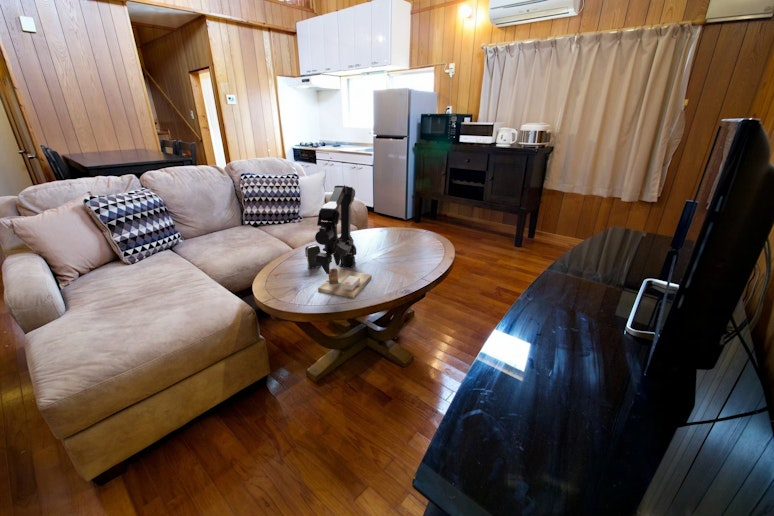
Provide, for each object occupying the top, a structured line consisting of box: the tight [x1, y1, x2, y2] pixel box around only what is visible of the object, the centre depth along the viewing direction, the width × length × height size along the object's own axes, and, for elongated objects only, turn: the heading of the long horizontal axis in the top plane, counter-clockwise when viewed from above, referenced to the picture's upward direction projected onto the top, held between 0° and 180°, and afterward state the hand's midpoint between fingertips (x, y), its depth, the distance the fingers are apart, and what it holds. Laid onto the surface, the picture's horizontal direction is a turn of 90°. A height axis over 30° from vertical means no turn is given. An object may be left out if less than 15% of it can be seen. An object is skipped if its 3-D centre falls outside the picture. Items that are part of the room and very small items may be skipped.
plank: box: [317, 269, 373, 299], centre depth 150 cm, size 17×20×2 cm
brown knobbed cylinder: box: [328, 267, 338, 284], centre depth 147 cm, size 4×4×7 cm
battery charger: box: [304, 244, 322, 270], centre depth 165 cm, size 7×4×11 cm, turn 129°
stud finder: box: [342, 276, 360, 290], centre depth 145 cm, size 5×8×3 cm, turn 160°
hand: (332, 269), depth 146 cm, fingers open, 9 cm apart
